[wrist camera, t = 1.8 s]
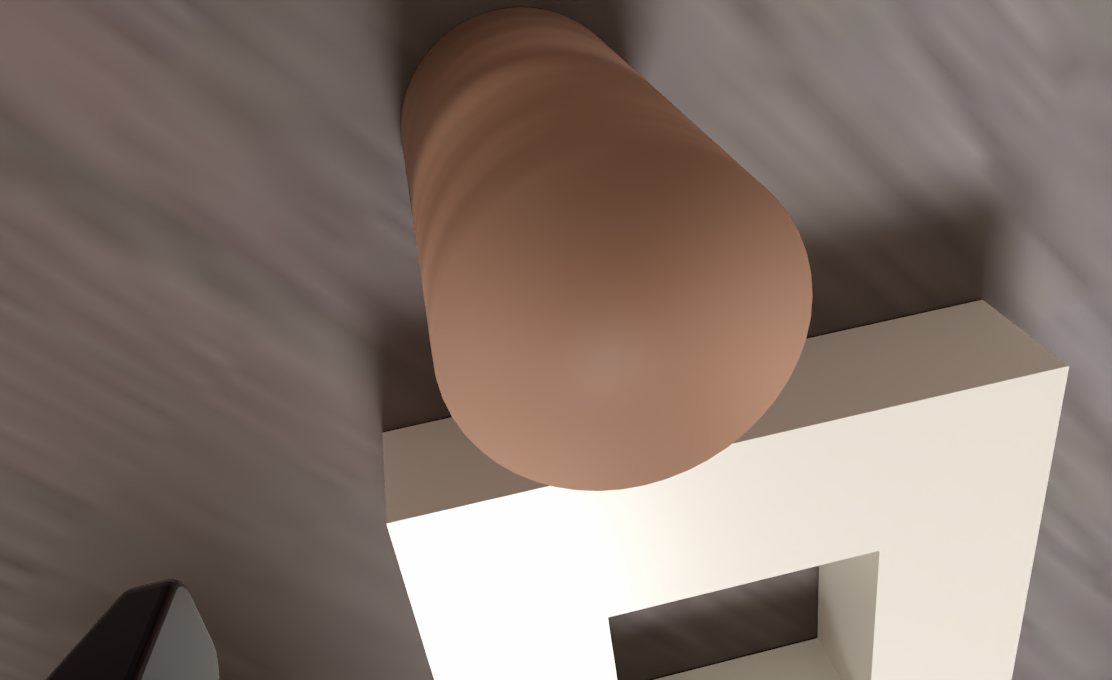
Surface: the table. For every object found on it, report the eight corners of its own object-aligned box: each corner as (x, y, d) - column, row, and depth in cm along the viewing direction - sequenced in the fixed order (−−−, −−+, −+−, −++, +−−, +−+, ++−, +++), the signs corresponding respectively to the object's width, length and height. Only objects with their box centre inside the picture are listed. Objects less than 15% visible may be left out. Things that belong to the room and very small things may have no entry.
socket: (491, 810, 27) (506, 913, 24) (382, 432, 20) (386, 523, 17) (935, 693, 28) (992, 780, 26) (983, 299, 21) (1068, 366, 19)
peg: (427, 258, 18) (471, 525, 11) (375, 31, 16) (391, 193, 9) (642, 214, 18) (810, 446, 12) (621, -14, 16) (814, 108, 9)
